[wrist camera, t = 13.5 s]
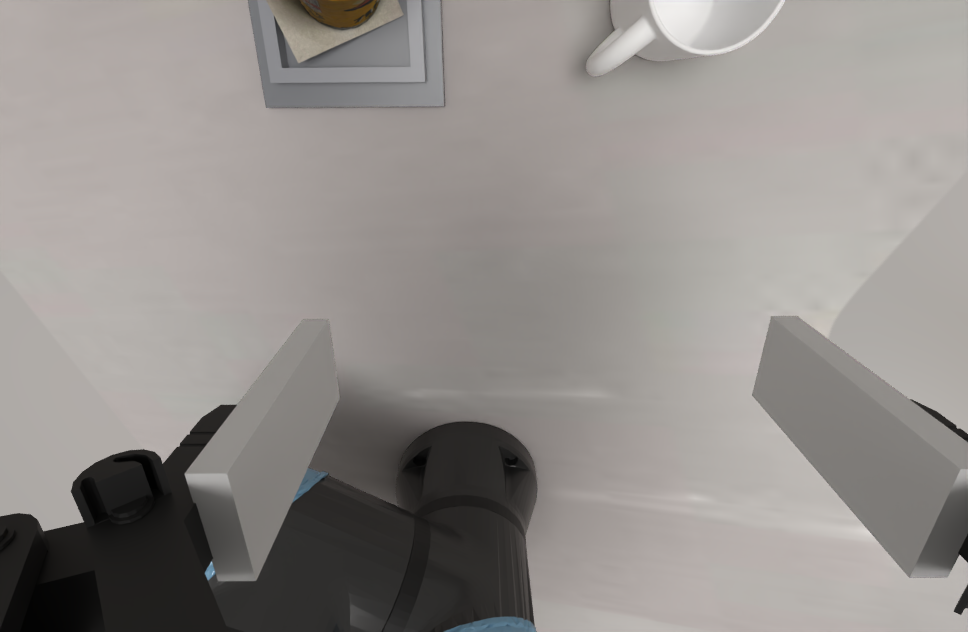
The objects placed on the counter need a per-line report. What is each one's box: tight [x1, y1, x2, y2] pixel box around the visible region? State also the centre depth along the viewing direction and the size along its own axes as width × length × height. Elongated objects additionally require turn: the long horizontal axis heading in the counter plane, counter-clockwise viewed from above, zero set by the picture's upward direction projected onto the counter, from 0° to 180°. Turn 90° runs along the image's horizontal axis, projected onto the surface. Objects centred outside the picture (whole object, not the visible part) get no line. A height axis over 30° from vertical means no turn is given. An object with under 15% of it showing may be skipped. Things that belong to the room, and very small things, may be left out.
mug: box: [586, 0, 785, 77], centre depth 34 cm, size 12×8×10 cm
